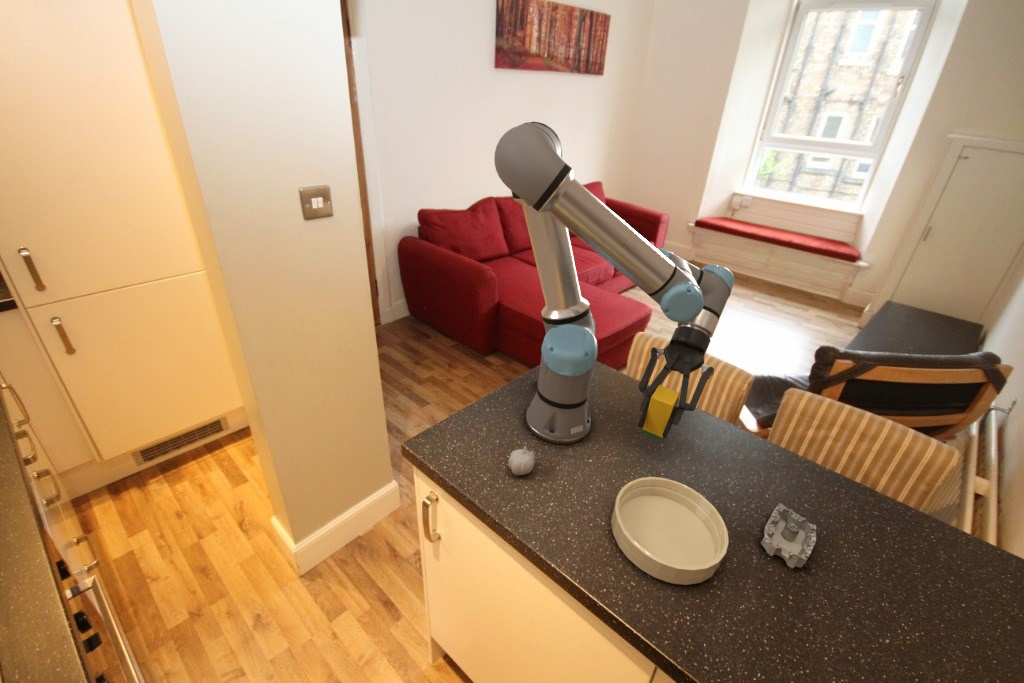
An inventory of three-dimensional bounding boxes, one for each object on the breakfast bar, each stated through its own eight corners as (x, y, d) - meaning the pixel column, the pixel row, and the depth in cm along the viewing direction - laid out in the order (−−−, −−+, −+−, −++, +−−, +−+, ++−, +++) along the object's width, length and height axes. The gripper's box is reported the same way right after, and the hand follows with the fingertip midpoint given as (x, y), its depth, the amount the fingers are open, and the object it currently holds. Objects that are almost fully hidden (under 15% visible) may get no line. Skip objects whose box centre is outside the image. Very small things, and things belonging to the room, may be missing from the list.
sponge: (649, 419, 100) (659, 384, 94) (669, 428, 98) (680, 392, 92) (641, 432, 96) (651, 397, 91) (662, 441, 94) (672, 405, 89)
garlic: (521, 455, 95) (523, 437, 93) (540, 469, 92) (542, 450, 90) (501, 469, 91) (502, 450, 89) (520, 484, 88) (522, 465, 86)
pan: (590, 511, 84) (594, 494, 82) (666, 481, 92) (671, 466, 90) (661, 605, 69) (668, 588, 67) (744, 560, 77) (753, 544, 75)
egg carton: (799, 575, 76) (809, 560, 74) (754, 546, 80) (762, 531, 78) (815, 537, 83) (824, 523, 81) (772, 513, 87) (780, 498, 85)
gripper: (734, 352, 96) (694, 452, 92) (655, 326, 104) (615, 417, 100) (738, 339, 89) (695, 447, 85) (653, 313, 97) (610, 410, 93)
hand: (652, 431), depth 92 cm, fingers closed on sponge, 4 cm apart
